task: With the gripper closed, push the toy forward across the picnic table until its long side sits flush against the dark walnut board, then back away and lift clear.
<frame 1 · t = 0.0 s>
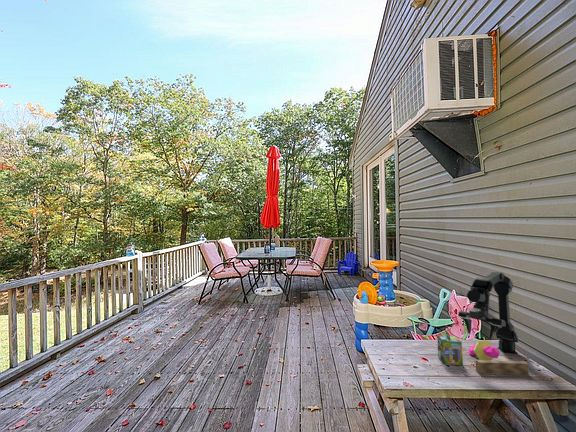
hand: (479, 336, 139), 15 cm above the table, tool pointing down, fingers open, 9 cm apart
chalk box: (449, 361, 148), on the table
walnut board: (501, 372, 135), on the table
toy: (484, 359, 149), on the table
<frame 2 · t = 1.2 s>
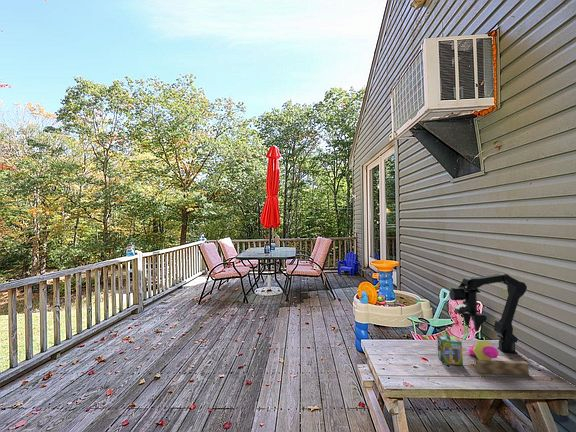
hand: (471, 328, 160), 12 cm above the table, tool pointing down, fingers open, 9 cm apart
nothing on the table moved.
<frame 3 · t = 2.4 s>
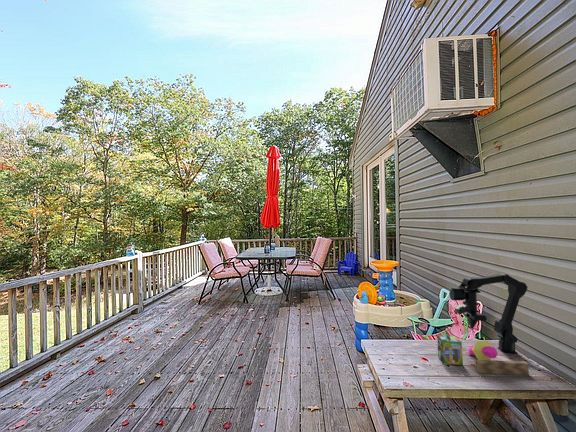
hand: (471, 328, 161), 12 cm above the table, tool pointing down, fingers closed
nothing on the table moved.
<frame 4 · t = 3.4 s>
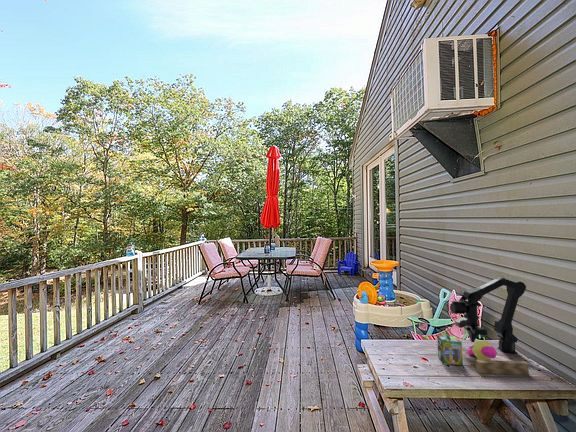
hand: (472, 342, 160), 5 cm above the table, tool pointing down, fingers closed
nothing on the table moved.
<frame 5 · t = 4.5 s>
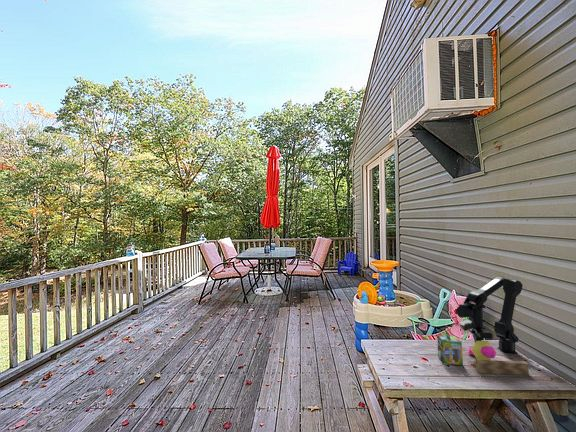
hand: (477, 345, 155), 5 cm above the table, tool pointing down, fingers closed
toy: (482, 359, 149), on the table, touching gripper
everything else where it was.
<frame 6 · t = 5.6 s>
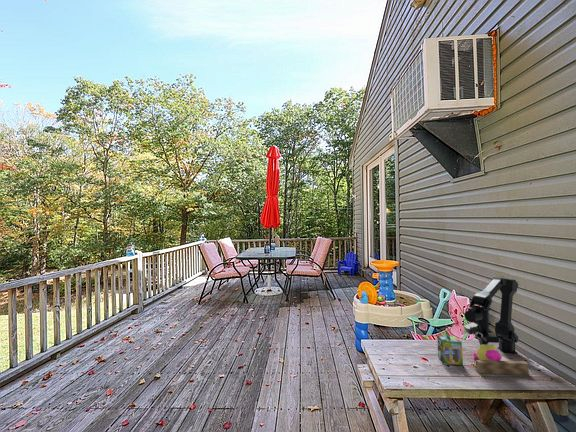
hand: (482, 349, 150), 5 cm above the table, tool pointing down, fingers closed, pressing on toy
toy: (487, 363, 145), on the table, touching gripper, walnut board
everything else where it was.
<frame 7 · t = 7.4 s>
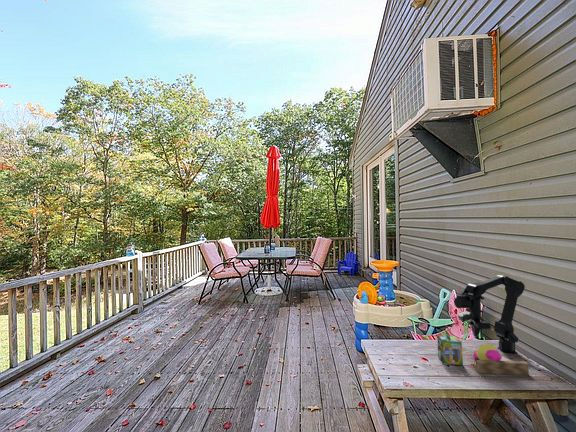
hand: (475, 336, 157), 9 cm above the table, tool pointing down, fingers closed
toy: (487, 363, 145), on the table, touching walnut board
everything else where it was.
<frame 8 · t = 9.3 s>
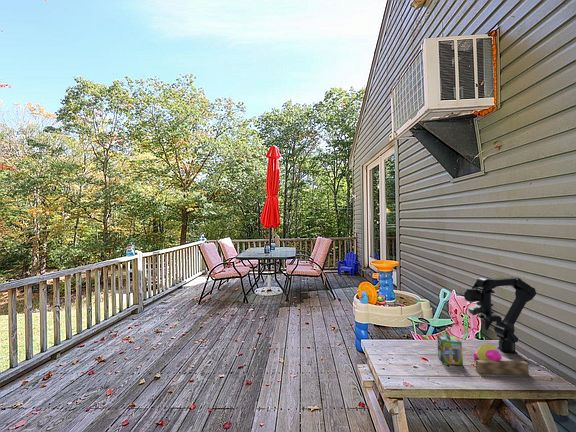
hand: (486, 329, 158), 12 cm above the table, tool pointing down, fingers closed
nothing on the table moved.
at the end: toy touching table, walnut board; toy inside the target area on the table beside the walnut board (1.3 cm from its centre), on the table; toy tilted 1° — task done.
